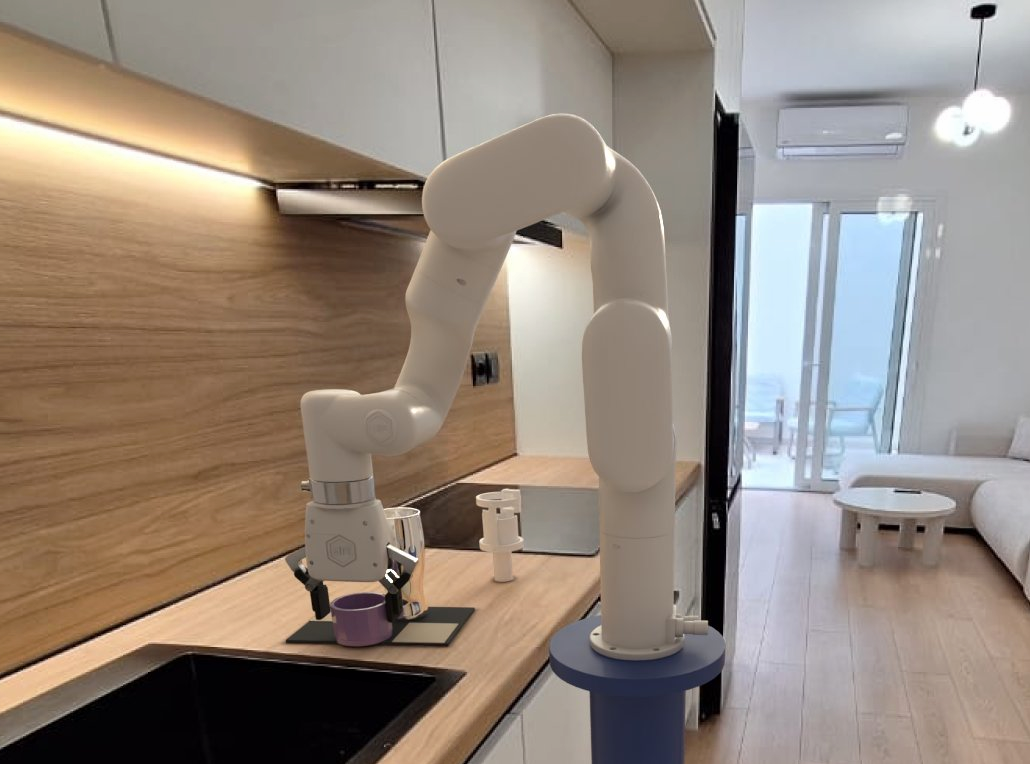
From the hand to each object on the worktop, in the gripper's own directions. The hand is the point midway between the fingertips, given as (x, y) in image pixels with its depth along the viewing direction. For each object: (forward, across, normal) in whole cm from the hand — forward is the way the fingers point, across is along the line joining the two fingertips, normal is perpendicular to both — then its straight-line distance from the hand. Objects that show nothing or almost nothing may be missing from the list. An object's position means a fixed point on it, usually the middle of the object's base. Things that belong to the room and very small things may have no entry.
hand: (358, 617), depth 108 cm
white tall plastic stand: (+3, +14, +27) cm, 30 cm away
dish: (+3, 0, 0) cm, 3 cm away
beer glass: (+3, +4, +8) cm, 10 cm away
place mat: (+3, +2, +5) cm, 6 cm away
